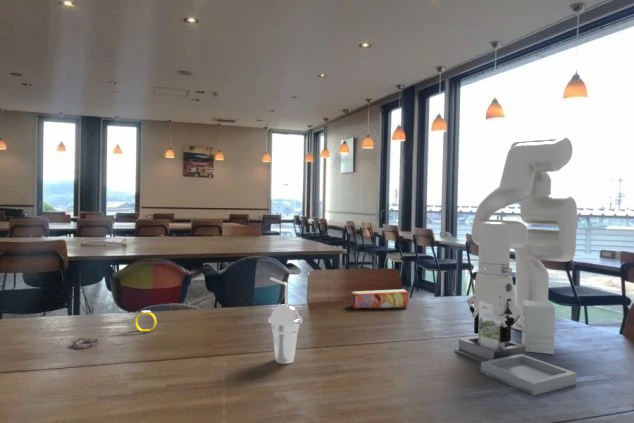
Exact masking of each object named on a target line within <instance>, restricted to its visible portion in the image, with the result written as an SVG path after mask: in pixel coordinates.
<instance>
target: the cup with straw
mask: <svg viewBox="0 0 634 423" xmlns="http://www.w3.org/2000/svg"><path fill="white" fill-rule="evenodd" d="M269 280H271V281H272V282H275V283H279V284H281V285H284V304H279V305H278V306H276V307H275V308H274V309H273V311H272V313H271V315H270V316H269V317H268V320H267V322H268V323H269V324H270V326H271V332H272V337H273V338H272V339H273V346H274V347H273V348H274V349H273V350H274V357H275V362H276V363H278V364H282V365H283V364H284V365H286V364H291V363H294V361H295V360H294V359H295V355H296V348H297V340H298V333H299V329H300V324H302V323H303V322H304V321H303V317H302V316H301V315H300V313H299V311H298V309H297V308H296V307H295V306H294V305H291V304H289V301H288V300H289V295H288V294H289V286H288V283H287V282H285V281H284V280H283V281H282V280H279V279H277V278H275V277H272V276H270V278H269Z"/></svg>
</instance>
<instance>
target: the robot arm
mask: <svg viewBox="0 0 634 423" xmlns="http://www.w3.org/2000/svg"><path fill="white" fill-rule="evenodd" d="M572 155H573V145H572V142H571V140H570V139H569V138H568V137H566V136H553V137H536V138H535V137H533V138H524V139H518V140H516V141H514V142H513V143H512V144H511V145H510V148H509V150H508V152H507V155H506V159H505V163H504V167H503V170H502V175H501V179H500V182H499V186H497V188H496V189H494V190H492V191H491V192H490V193H489V194H487V196H486V197H485V198H484V199H483V200H482V201H481V202H480V203H479V205H478V207H477V209H476V212H475V214H474V217H473V222H472V225H471V231H470V232H471V233H470V234H471V239H472V241H473V243H474V244H475V245H477V246H478V258H477V260H478V261H477V262H478V263H477V264H478V266H477V270H478V272H476V276H475V279H474V287H473V294H472V296H471V297H469V298H468V299H467V300H466V303H467V305H468V307H469V311H470V312H471V314H472V318H473V320H474V321H473V322H474V323H473V332H474V334H476V335H477V334H478V329H479V301H480V300H483V301H486V302H489V303H490V304H492V306H493V311H494V314H495V315H497V316H499V317H500V321H501V323H502V326H500V342H502V343H504V342H509V341H511V337H512V336H511V334H512V329H514V330H517V331H521V332H522V319H523V300H528V301H541V302H549V280H550V277H549V272H548V270H547V268H546V266H545V265H544V263H542V261H551V262H563V263H564V262H570V261H572V260H573V259H574V257H575V255H576V248H577V226H578V208H577V203H576V200H575V199H574V198H573V197H572V196H570V195H564V194H552V178H551V177H550V175H549V173H551V172H552V173H553V172H557V171H559V170H562V168H564V167H565V166H567V164H568V163H570V160H571V159H572ZM548 172H549V173H548ZM517 203H520V219H521V221H522V222H521V221H519V220H502V219H491V217H492V216H493V215H494V214H495V213H496V212H498V211H500V210H501V209H503V208H507V207H509V206H512V205H514V204H517ZM524 223H525V224H528V225H535V226H537V225H538V226H556V227H558V229H543V228H528V227H527V226H526V225H525V224H524ZM511 250H513V251H514V256H515V284H514V280H513V276H511V275H510V274H512V272H513V268H512V267H510V263H511V262H510V260H511V259H510V258H511V256H510V255H511ZM555 320H556V316H555Z"/></svg>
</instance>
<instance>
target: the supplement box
mask: <svg viewBox="0 0 634 423" xmlns="http://www.w3.org/2000/svg"><path fill="white" fill-rule="evenodd" d="M555 317H556V308H555V306H554V305H553V304H552V302H550V301H548V302H541V301H528V300H523V319H522V331H521V344H522V345H525V346H526V352H529V353H536V354H537V353H539V354H547V355H548V354H549V355H555V329H556V328H555V327H556V319H555Z"/></svg>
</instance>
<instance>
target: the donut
mask: <svg viewBox="0 0 634 423" xmlns="http://www.w3.org/2000/svg"><path fill="white" fill-rule="evenodd" d="M98 345H99V342H98V338H85V337H84V338H77V339H76V340H74V341H72V348H73V349H77V350H87V349H88V350H89V349H92V348H95V347H97V346H98Z"/></svg>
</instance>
